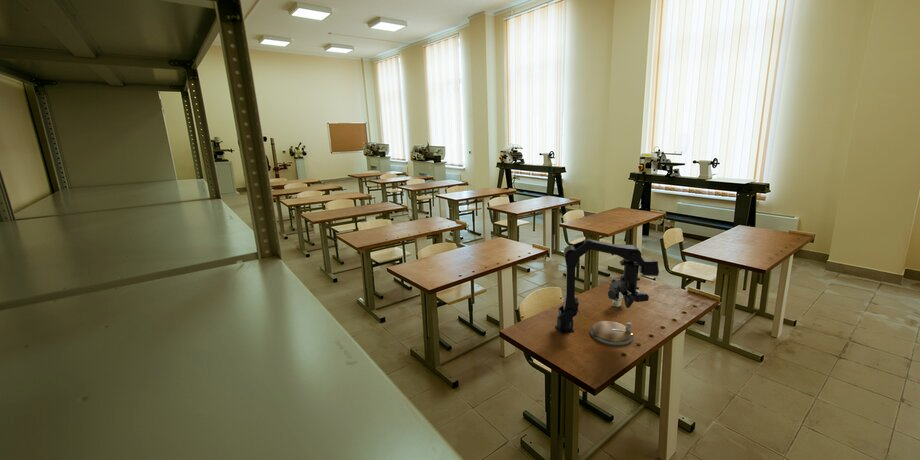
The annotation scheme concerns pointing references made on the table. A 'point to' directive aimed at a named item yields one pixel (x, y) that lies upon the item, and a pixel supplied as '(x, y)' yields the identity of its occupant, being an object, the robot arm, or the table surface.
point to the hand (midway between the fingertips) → (627, 307)
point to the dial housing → (609, 341)
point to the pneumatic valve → (615, 297)
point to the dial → (612, 331)
